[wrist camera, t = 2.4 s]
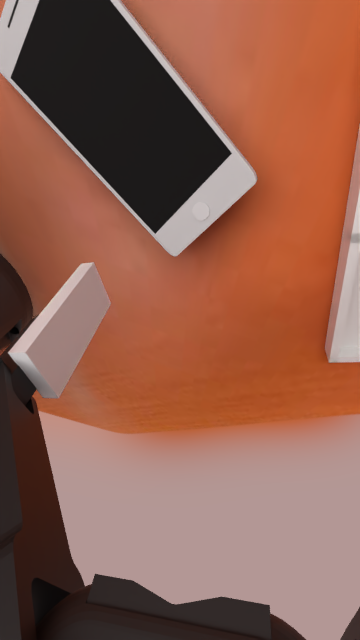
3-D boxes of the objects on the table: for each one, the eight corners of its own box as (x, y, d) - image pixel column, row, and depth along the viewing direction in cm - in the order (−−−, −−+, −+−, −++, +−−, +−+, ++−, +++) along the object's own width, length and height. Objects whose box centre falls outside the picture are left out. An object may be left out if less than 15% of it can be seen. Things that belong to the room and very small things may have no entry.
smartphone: (177, 255, 21) (173, 259, 20) (-2, 61, 18) (-15, 58, 17) (261, 177, 17) (259, 179, 16) (50, -90, 14) (36, -104, 13)
